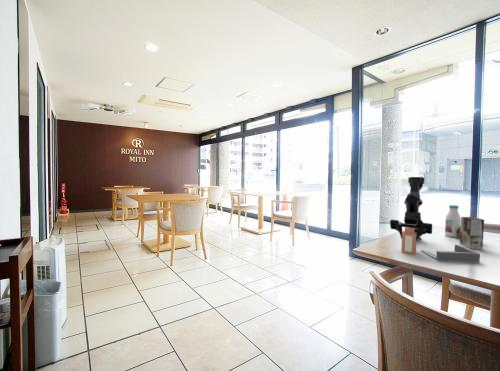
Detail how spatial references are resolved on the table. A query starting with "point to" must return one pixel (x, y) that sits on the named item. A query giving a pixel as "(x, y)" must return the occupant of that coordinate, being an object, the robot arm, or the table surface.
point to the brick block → (409, 241)
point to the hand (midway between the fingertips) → (409, 239)
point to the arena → (455, 255)
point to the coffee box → (472, 232)
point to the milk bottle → (452, 221)
